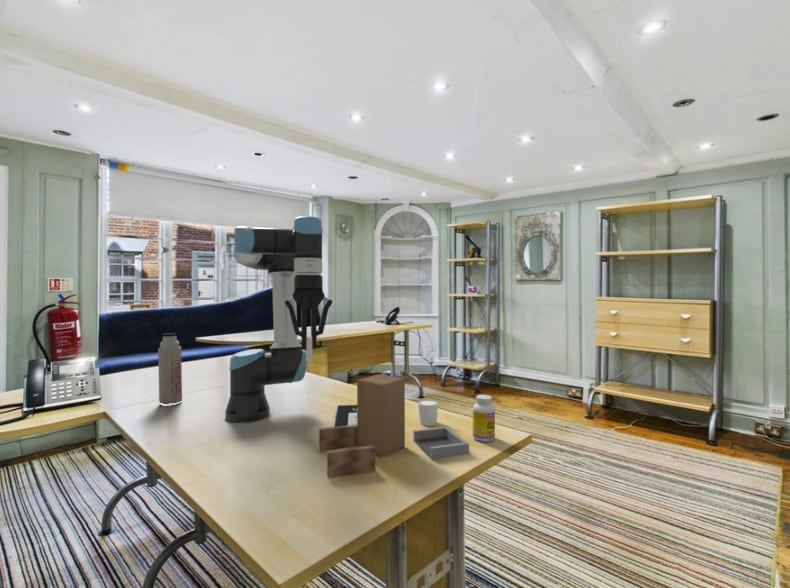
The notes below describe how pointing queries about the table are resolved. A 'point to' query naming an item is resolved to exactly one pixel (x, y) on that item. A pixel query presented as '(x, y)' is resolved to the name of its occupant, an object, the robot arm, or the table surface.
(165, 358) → the thermos bottle
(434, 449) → the grey shallow rectangular tray
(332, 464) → the parallel wooden walls
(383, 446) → the wooden block
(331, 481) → the table surface
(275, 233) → the robot arm
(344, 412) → the sketchbook
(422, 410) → the white cup
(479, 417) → the supplement bottle
